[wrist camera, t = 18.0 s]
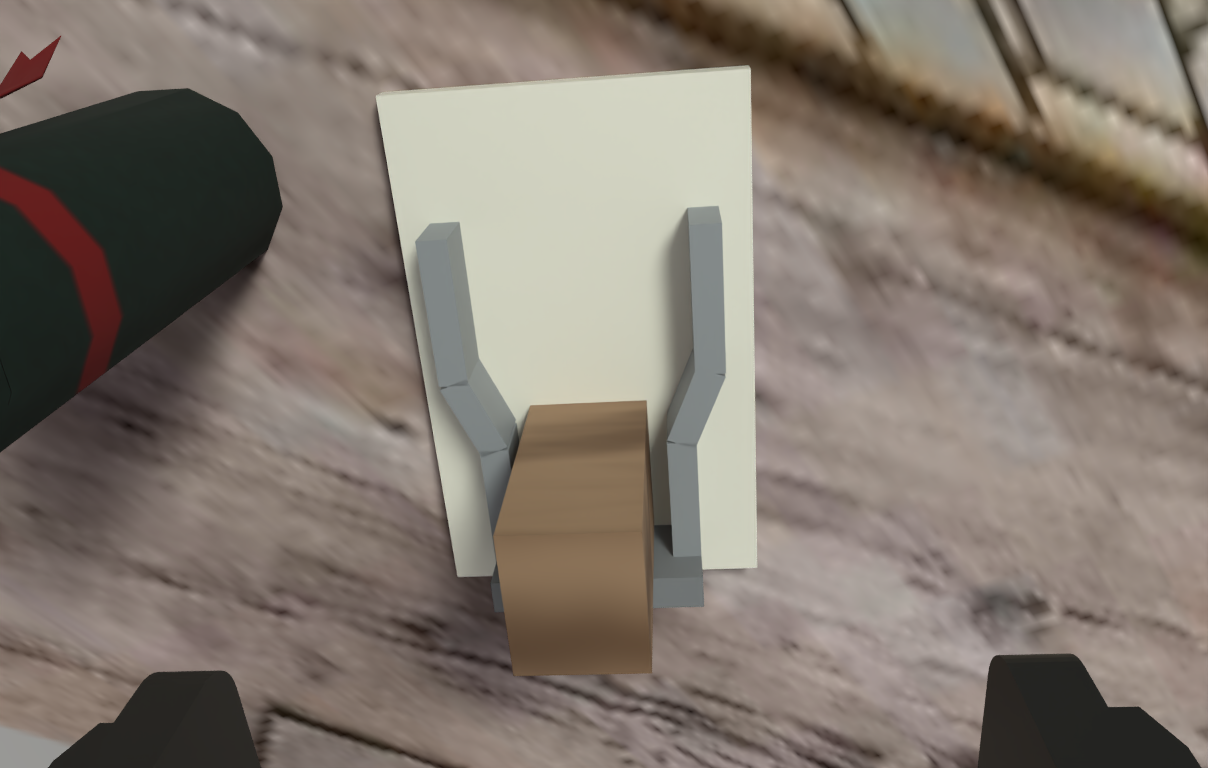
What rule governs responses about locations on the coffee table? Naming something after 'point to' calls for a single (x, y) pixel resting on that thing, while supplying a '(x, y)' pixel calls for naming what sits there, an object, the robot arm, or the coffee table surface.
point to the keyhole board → (587, 290)
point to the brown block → (579, 542)
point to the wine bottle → (116, 232)
